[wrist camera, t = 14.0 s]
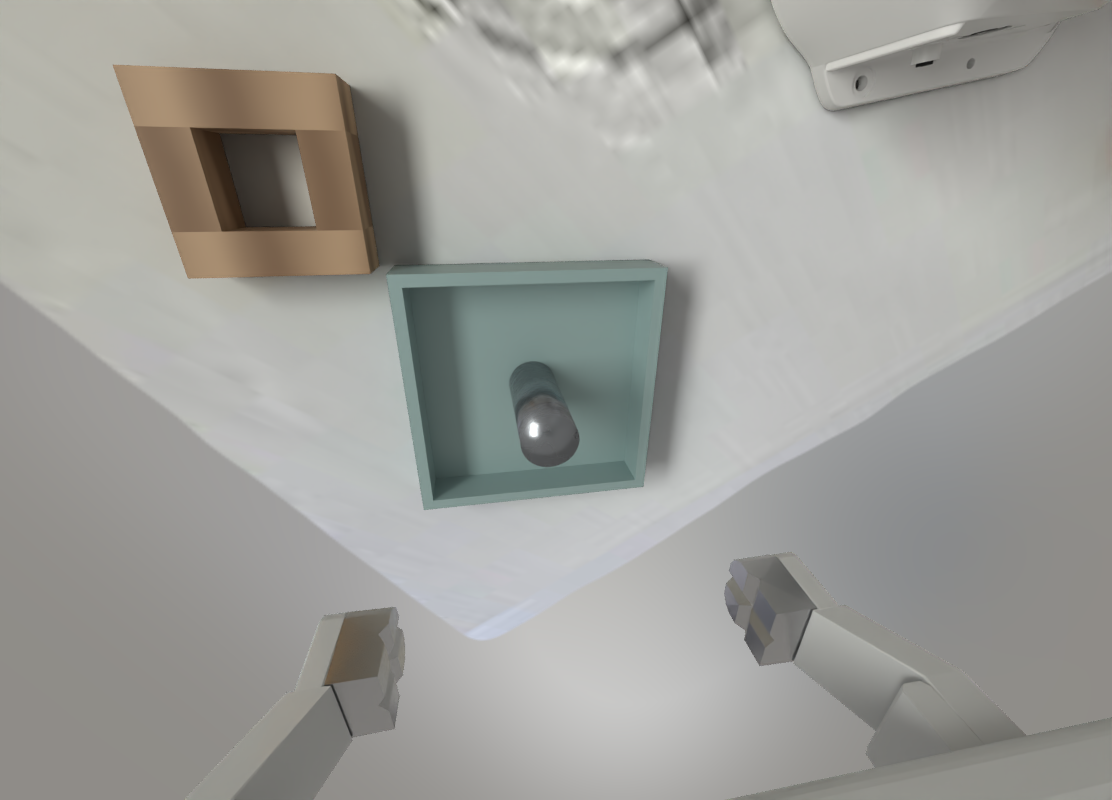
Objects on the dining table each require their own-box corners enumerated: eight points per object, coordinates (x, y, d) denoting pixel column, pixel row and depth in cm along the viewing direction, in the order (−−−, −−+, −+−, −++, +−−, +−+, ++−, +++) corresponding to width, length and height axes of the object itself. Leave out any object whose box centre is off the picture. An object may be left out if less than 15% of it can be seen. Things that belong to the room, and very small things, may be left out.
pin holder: (349, 85, 25) (335, 73, 23) (379, 265, 30) (370, 273, 27) (152, 78, 24) (112, 64, 21) (214, 269, 28) (188, 278, 25)
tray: (649, 259, 33) (667, 267, 29) (630, 463, 40) (643, 486, 37) (394, 265, 30) (386, 274, 27) (427, 483, 38) (423, 510, 35)
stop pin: (554, 359, 34) (580, 413, 26) (554, 401, 36) (578, 464, 28) (508, 362, 34) (519, 418, 26) (510, 405, 35) (521, 469, 27)
